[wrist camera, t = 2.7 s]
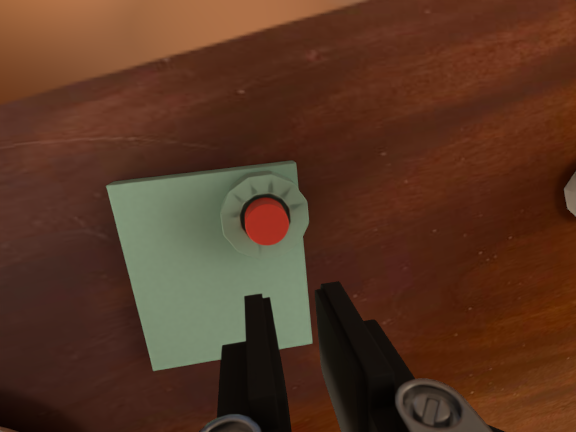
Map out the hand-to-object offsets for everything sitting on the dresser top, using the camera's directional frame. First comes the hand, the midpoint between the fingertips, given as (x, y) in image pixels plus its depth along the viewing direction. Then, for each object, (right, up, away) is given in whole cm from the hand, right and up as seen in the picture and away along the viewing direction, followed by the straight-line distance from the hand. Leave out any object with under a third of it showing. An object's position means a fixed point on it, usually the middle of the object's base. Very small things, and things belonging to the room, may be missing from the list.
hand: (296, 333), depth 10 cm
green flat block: (-5, 0, +15) cm, 16 cm away
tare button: (-2, +3, +12) cm, 12 cm away
